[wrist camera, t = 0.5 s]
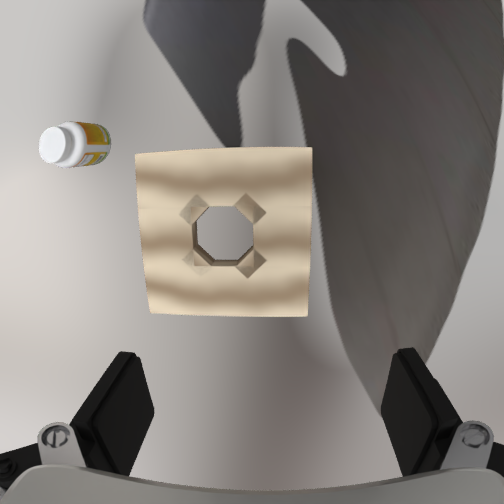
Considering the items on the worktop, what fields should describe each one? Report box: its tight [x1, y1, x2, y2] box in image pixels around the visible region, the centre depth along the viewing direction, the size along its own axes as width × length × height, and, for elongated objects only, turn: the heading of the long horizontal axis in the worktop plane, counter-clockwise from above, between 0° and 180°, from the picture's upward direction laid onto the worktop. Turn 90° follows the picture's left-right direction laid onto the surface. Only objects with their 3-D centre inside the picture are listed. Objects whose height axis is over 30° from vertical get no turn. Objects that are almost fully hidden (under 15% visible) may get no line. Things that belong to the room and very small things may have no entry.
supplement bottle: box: [39, 121, 111, 168], centre depth 32 cm, size 5×5×10 cm
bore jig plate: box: [135, 147, 312, 317], centre depth 38 cm, size 20×20×2 cm
